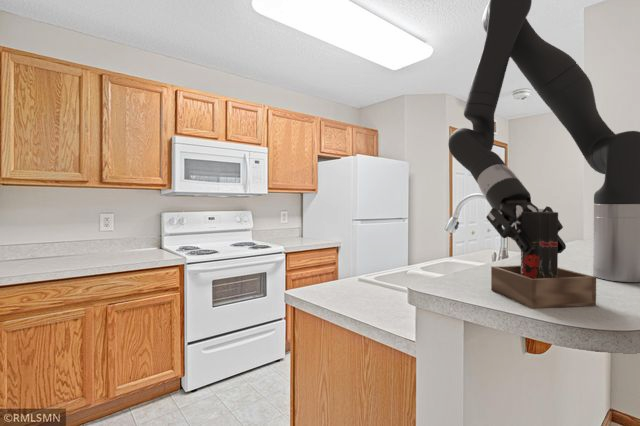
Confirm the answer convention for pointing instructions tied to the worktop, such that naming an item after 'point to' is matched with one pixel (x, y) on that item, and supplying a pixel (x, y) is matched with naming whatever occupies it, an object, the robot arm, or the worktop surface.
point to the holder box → (544, 288)
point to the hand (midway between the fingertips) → (546, 251)
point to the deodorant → (540, 244)
